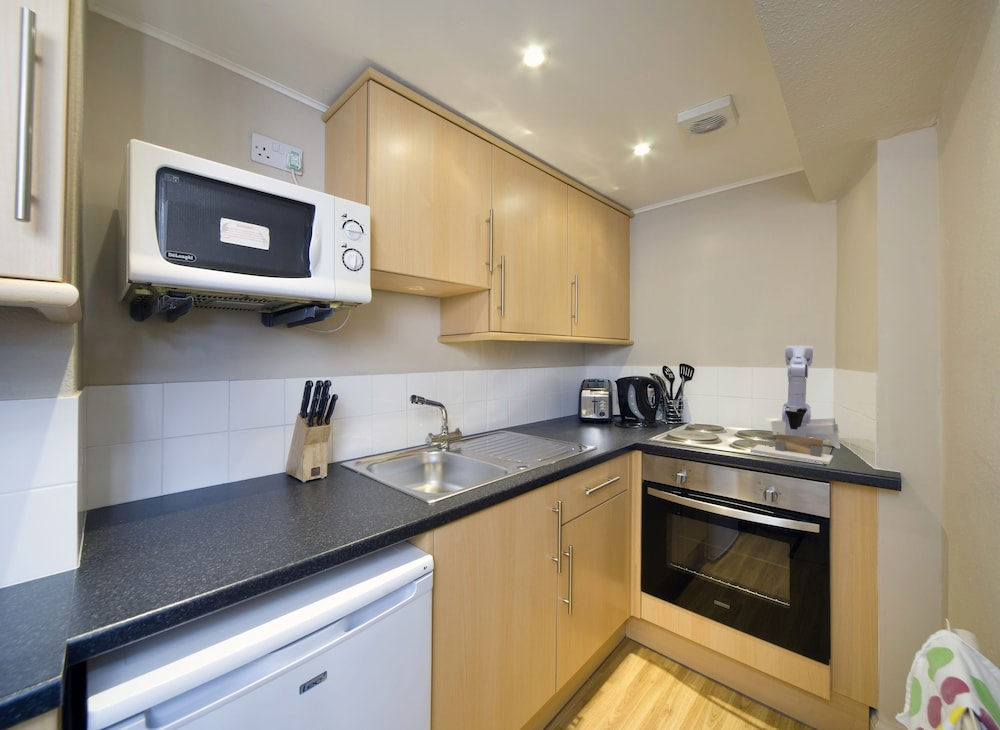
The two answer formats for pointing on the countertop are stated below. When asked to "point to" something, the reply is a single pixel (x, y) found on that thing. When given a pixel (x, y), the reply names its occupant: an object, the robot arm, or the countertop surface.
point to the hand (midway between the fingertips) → (795, 427)
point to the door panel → (799, 443)
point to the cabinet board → (793, 453)
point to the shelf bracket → (814, 430)
